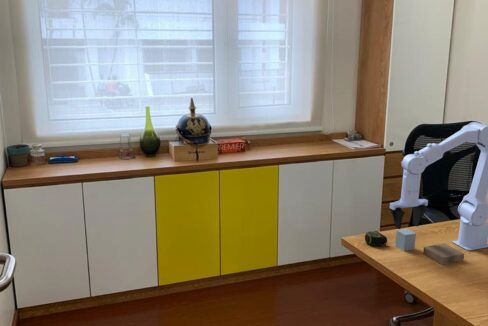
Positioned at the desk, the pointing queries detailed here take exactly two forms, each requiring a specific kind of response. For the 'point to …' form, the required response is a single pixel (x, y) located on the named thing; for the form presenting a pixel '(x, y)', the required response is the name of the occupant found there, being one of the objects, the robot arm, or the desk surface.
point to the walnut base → (443, 254)
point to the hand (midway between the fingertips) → (406, 226)
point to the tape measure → (375, 238)
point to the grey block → (405, 239)
